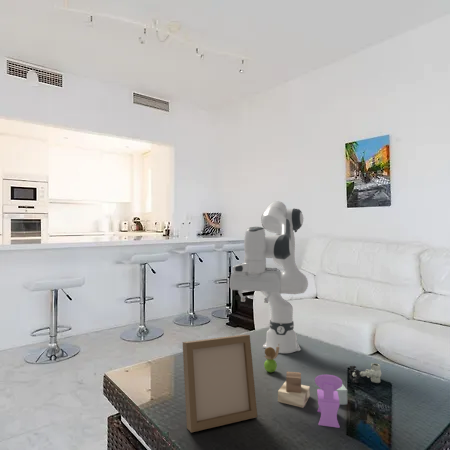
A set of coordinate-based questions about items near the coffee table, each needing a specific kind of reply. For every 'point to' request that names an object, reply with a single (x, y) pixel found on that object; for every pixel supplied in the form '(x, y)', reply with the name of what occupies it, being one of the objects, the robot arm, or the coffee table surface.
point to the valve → (366, 373)
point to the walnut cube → (293, 382)
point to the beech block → (294, 396)
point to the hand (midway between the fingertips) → (254, 301)
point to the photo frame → (218, 382)
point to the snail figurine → (270, 359)
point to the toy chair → (328, 399)
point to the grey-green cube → (342, 395)
